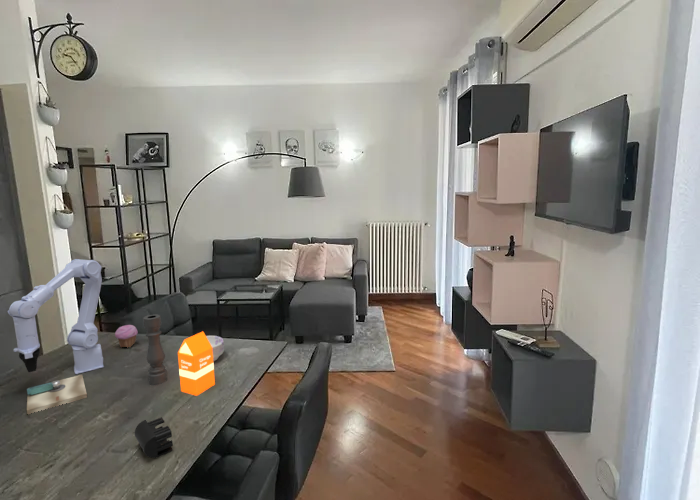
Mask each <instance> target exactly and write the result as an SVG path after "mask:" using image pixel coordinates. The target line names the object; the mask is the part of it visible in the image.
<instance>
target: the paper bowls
mask: <svg viewBox="0 0 700 500" xmlns="http://www.w3.org/2000/svg"><path fill="white" fill-rule="evenodd" d="M206 337H207V339H208V341H209V343H210V344H211V346H212V350H213V362H215V361H217V360H218V359H219V357H220V356H221V355H222V354H224V351H225V342H224V341H225V340H224V339H223V337H221V336H219V335H218V336H217V335H206Z"/></svg>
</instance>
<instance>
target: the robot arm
mask: <svg viewBox="0 0 700 500" xmlns="http://www.w3.org/2000/svg"><path fill="white" fill-rule="evenodd" d="M102 268H103V266H102V265H101V264H100V263H99V262H98V261H97V260H95V259H81V258H80V259H79V258H75V259H72V260H71V261H70V262H69V263H66V265H65V267H64V268H63V269H62V270H61V271H59V273H57V274H56V275H55V276H54V277H53V278H52V279H50V280H49V281H48V282H47V283H46V284H39V285H36V286H34V287H33V290H31V291H30V292H29V293H28V294H26V295H24V296H22V297H21V300H15V301H13V302H12V303H11V305H10V306H9V309H8V310H7V314H8V315H9V316H10V317H11V318H12V320H13V325H14V331H15V338H16V344H17V347H14V348H13V352H14V353H15V352H18V354H19V355H18V358H19V359H20V360H21V361H22V362H23V364H24V365H25V368H26V371H27V372H28V373H31V372H35V371H37V367H38V366H37V365H38V358H39V355H40V352H41V351H40V350H41V349H40V346H41V344H40V341H39V335H38V329H37V328H38V327H37V320H36V315H37V314H38V313H39V309H40V308H41V307H42V306H43V305H44V304H45V303H47V301H49V300H50V299H52V298H53V297H54V295H55V291H56V290H58V289H60V288H61V287H62V286H63V285H65V284H66V283H67V282H69V281H70V280H72V279H74V278H79V279H80V280H81V281H82V282H83V283H84V288H83V292H82V298H81V302H80V306H79V312H78V316H77V317H78V318H77V322H76V323H75V324H74V325H72V326H71V329H70V331H69V333H68V335H67V338H66V341H67V344H68V345H70V346H71V349H72V353H73V354H72V355H73V360H74V366H73V371H74V374H75V375H78V374H79V375H80V374H81V373H85V372H86V373H87V372H90V371H94V370H98V369H102V368H104V367H105V366H104V356H103V351H102V346H101V343H98V341H99V336H98V328H97V326H96V325H95V317H96V313H97V307H98V302H99V297H100V292H101V288H102V283H103V279H102V273H101V272H102Z"/></svg>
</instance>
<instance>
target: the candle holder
mask: <svg viewBox="0 0 700 500" xmlns="http://www.w3.org/2000/svg"><path fill="white" fill-rule="evenodd" d="M142 320H143V328H144V329H145V330H146V332H145V336H146V338H147V339H148V340H147V341H148V347H147V353H146V361H147V363H148V364H149V366H150V367H149V368H148V375H147V376H148V377H147V378H148V383H149V385H152V386H156V385H157V386H158V385H161V384H164V383H165V382H167V380H168V373H167V369H166V366H165V365H164V364H163V363H164V361H165V359H166V354H165V351H164V349H163V346H162V343H161V334H162V330H160V328H161V326H162V318H161V314H156V313H155V314H148V315H146V316H143V317H142Z"/></svg>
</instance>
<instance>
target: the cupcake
mask: <svg viewBox="0 0 700 500" xmlns="http://www.w3.org/2000/svg"><path fill="white" fill-rule="evenodd" d="M114 332H115V333H114V337H115V338H116V339H117V341H118V344H119V346H120V348H122V347H127V349H129V348H128V347H130V348H131V346H132V345H133V344H134V345H135V343H136V341H137V335H138V329H137V327H136V326H135V325H133V324H125V325H122V326H121V325H120V326H119V327H118V328H117V329H116V331H114ZM134 345H133V346H134ZM133 346H132V347H133Z"/></svg>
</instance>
